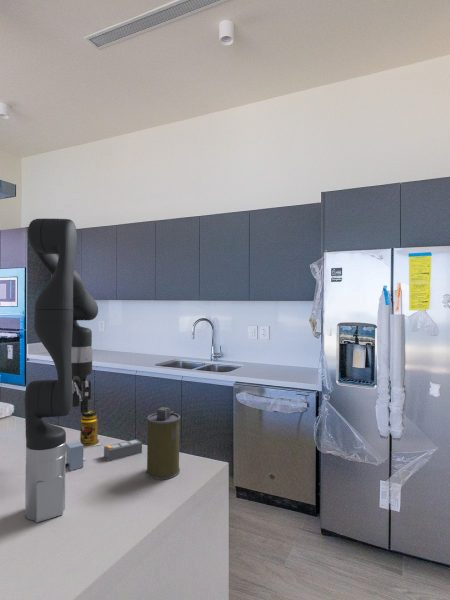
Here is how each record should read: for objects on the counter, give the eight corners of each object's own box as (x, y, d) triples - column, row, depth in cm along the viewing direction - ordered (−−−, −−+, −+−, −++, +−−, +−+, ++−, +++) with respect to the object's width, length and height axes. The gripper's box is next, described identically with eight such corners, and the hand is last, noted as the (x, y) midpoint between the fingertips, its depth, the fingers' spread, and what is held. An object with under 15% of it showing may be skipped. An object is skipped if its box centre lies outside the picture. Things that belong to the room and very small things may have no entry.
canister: (170, 482, 113) (171, 414, 113) (139, 476, 117) (140, 411, 117) (185, 467, 124) (186, 405, 124) (157, 462, 127) (157, 402, 127)
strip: (141, 452, 135) (142, 441, 135) (108, 461, 128) (108, 449, 128) (136, 448, 138) (136, 437, 138) (103, 456, 131) (104, 445, 131)
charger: (87, 466, 123) (87, 444, 123) (55, 474, 117) (55, 451, 117) (82, 461, 127) (82, 440, 127) (51, 468, 121) (52, 446, 121)
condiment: (80, 448, 138) (81, 415, 138) (76, 441, 145) (76, 409, 145) (101, 445, 142) (101, 412, 142) (96, 437, 149) (96, 407, 149)
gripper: (99, 361, 121) (98, 412, 121) (84, 356, 133) (84, 402, 133) (75, 363, 117) (74, 416, 117) (62, 358, 128) (61, 406, 128)
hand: (79, 409), depth 125 cm, fingers open, 8 cm apart
